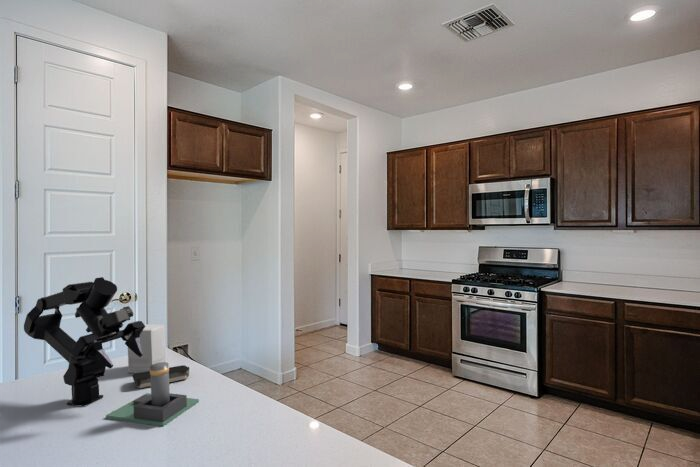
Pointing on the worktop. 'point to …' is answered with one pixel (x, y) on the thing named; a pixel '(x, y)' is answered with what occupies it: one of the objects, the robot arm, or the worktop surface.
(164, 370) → the plug
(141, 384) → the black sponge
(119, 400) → the worktop surface
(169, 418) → the header board
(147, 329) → the supplement box
